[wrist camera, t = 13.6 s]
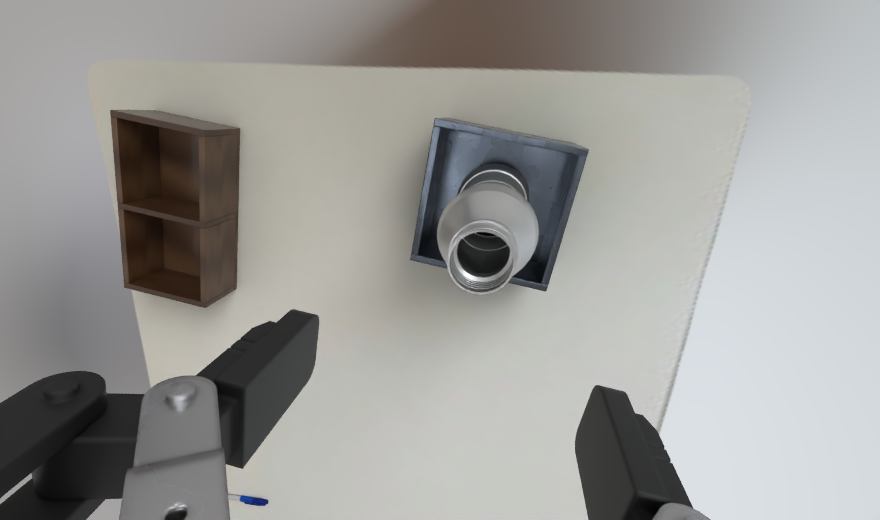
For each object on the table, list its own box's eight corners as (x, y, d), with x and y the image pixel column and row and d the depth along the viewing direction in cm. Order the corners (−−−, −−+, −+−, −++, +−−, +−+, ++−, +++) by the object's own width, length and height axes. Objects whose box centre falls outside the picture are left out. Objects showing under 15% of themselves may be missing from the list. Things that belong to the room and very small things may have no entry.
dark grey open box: (446, 117, 40) (434, 118, 34) (576, 143, 39) (589, 149, 33) (424, 239, 44) (410, 260, 38) (540, 265, 43) (546, 291, 37)
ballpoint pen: (268, 497, 60) (264, 503, 59) (269, 502, 60) (265, 508, 60) (201, 488, 62) (196, 494, 61) (202, 492, 62) (197, 498, 61)
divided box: (155, 110, 44) (110, 109, 39) (240, 128, 43) (204, 130, 38) (162, 270, 50) (123, 287, 45) (236, 288, 50) (205, 308, 45)
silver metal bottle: (445, 199, 42) (393, 268, 23) (492, 145, 39) (476, 172, 21) (495, 242, 42) (483, 343, 23) (543, 190, 40) (574, 257, 21)
